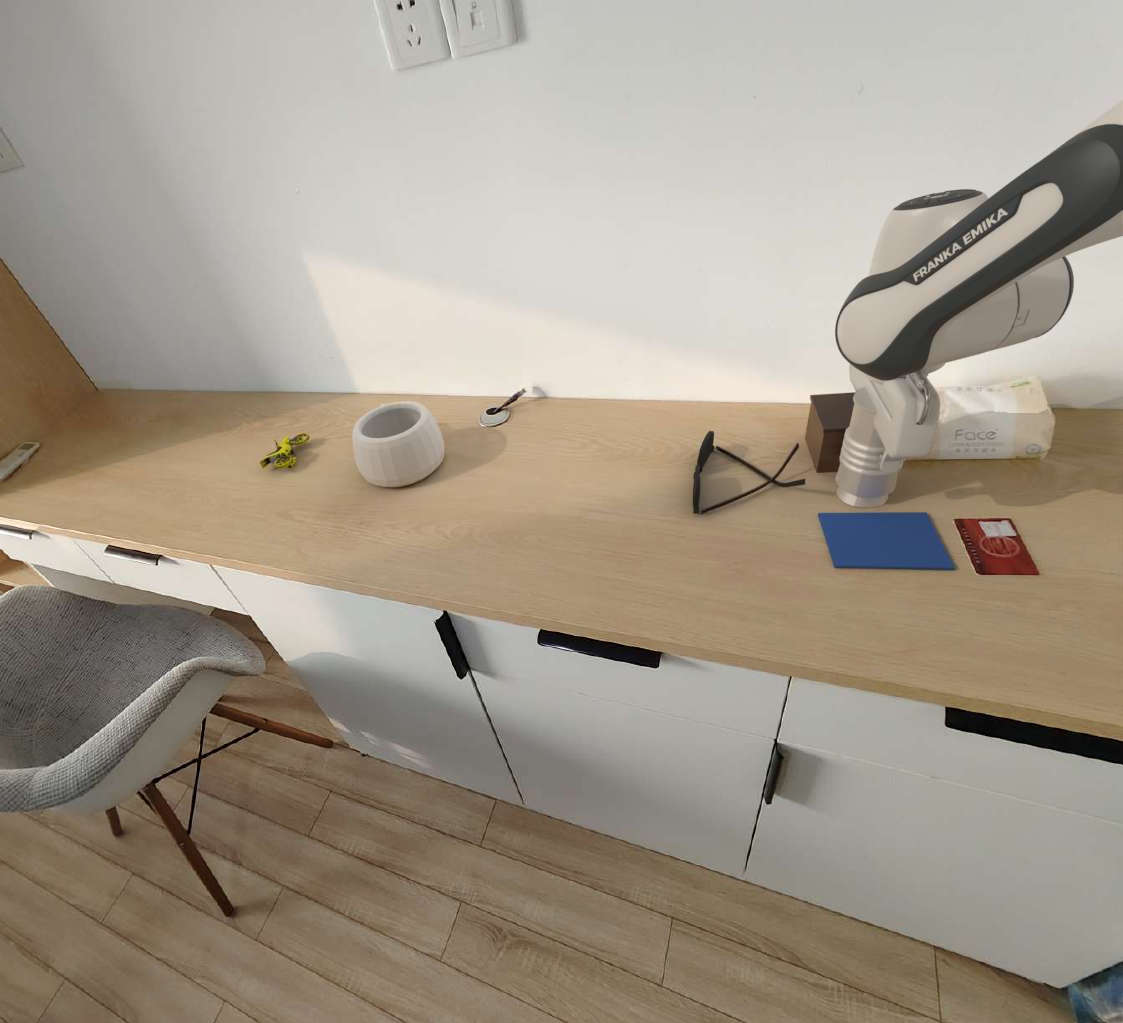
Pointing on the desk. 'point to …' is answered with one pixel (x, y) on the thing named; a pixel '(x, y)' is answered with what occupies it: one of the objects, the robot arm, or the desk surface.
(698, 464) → the sunglasses
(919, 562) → the cloth
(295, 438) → the toy motorcycle
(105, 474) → the desk surface
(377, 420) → the white plant pot
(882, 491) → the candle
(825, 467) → the box
